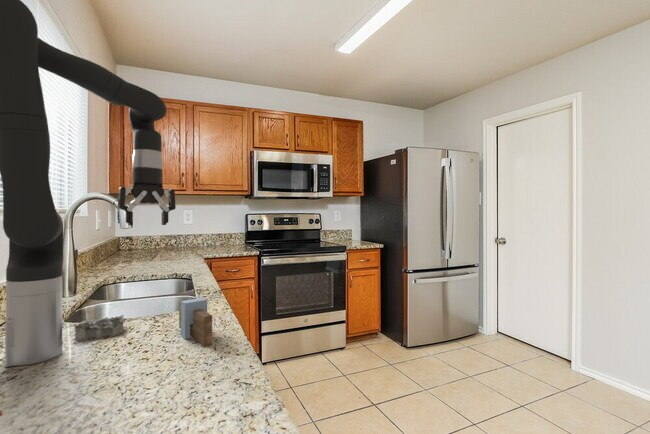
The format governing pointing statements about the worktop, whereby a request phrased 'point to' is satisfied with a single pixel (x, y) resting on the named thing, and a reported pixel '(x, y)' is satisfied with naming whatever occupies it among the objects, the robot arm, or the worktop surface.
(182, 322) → the notched block
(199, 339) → the slotted plate
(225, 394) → the worktop surface
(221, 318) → the worktop surface
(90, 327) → the egg carton
